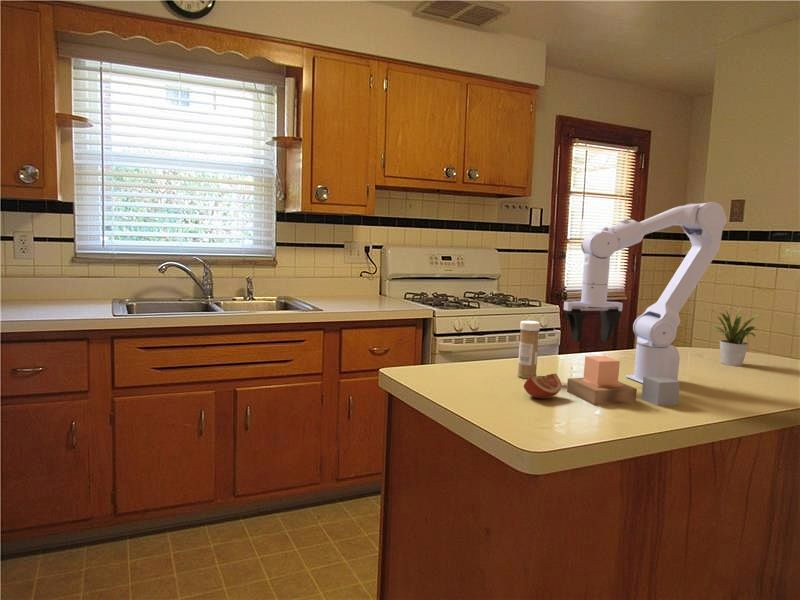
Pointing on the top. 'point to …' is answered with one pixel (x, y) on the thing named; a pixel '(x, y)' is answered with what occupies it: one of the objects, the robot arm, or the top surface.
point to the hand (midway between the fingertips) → (590, 340)
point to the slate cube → (660, 390)
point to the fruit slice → (543, 386)
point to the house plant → (734, 340)
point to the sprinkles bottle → (528, 349)
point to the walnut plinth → (601, 392)
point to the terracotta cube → (601, 370)
